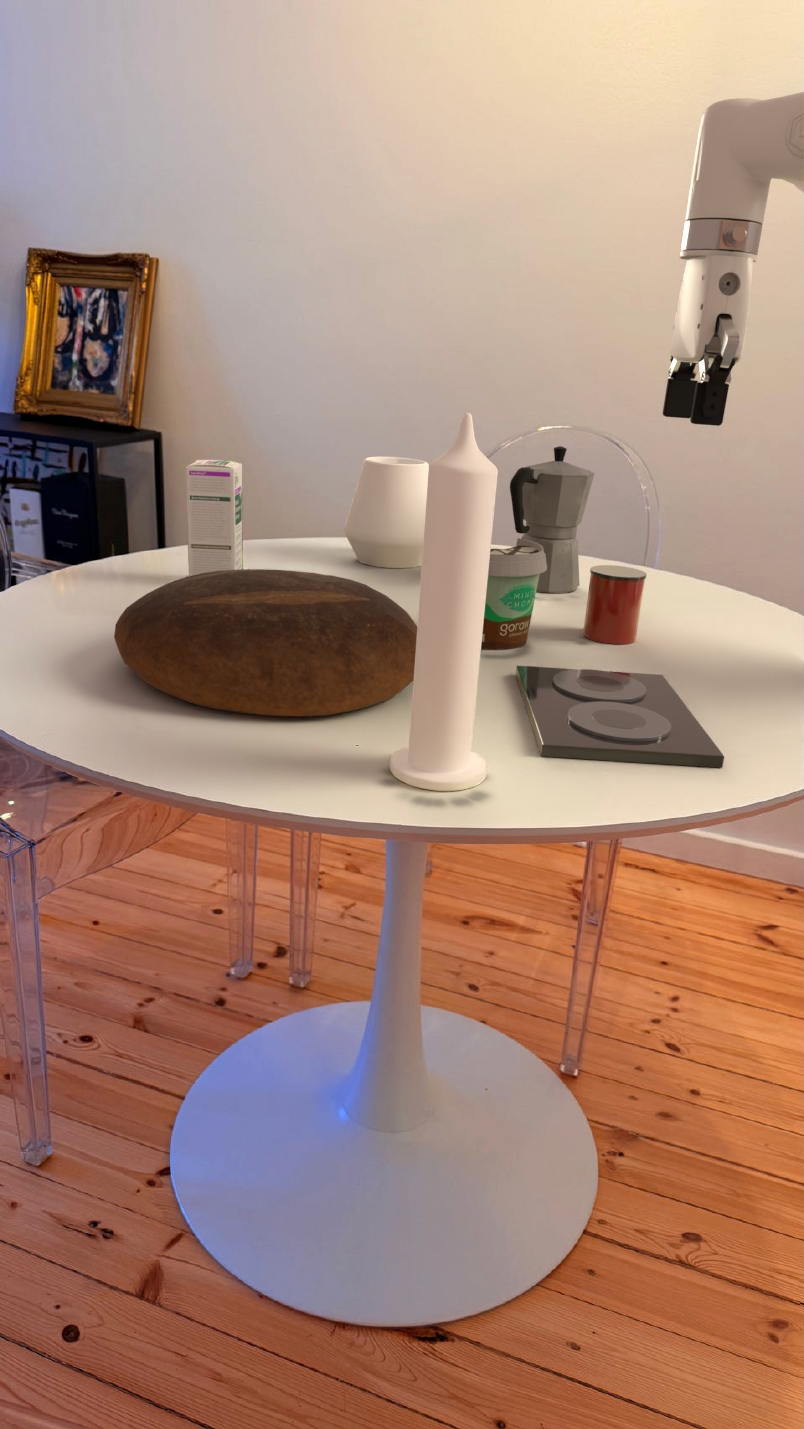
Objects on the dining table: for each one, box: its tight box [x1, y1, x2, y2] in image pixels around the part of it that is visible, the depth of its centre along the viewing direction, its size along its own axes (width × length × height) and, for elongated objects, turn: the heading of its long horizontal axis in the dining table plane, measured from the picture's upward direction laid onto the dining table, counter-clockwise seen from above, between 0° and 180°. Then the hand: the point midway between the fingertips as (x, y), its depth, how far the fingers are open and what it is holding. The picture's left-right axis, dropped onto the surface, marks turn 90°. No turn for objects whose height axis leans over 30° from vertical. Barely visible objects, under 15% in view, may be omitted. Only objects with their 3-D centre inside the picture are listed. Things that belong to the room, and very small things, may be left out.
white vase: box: [344, 456, 430, 569], centre depth 138 cm, size 13×13×14 cm
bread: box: [113, 568, 417, 717], centre depth 90 cm, size 28×27×9 cm
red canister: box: [582, 564, 647, 645], centre depth 108 cm, size 6×6×7 cm
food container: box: [481, 537, 547, 651], centre depth 103 cm, size 12×6×10 cm, turn 143°
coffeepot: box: [509, 445, 595, 594], centre depth 128 cm, size 15×9×18 cm, turn 134°
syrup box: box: [185, 459, 244, 576], centre depth 119 cm, size 6×6×14 cm
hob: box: [515, 665, 725, 769], centre depth 85 cm, size 14×20×1 cm
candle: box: [389, 412, 499, 792], centre depth 67 cm, size 7×7×25 cm
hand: (690, 420), depth 106 cm, fingers open, 9 cm apart
